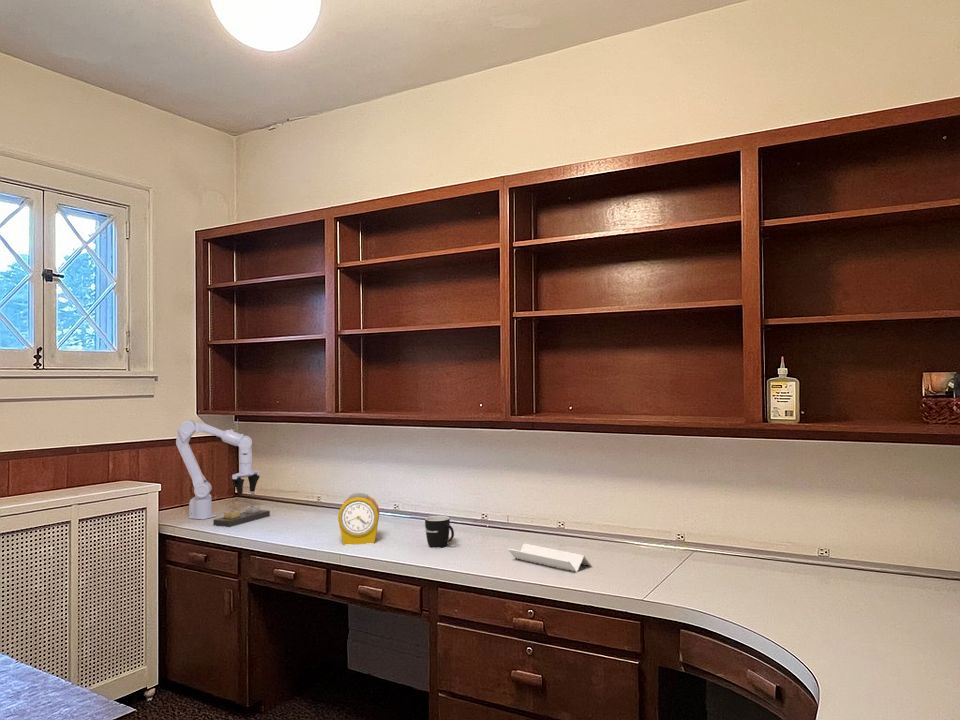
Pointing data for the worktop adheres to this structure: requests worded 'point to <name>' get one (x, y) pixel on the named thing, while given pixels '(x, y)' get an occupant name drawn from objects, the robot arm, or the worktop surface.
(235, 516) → the yellow block with knob
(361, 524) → the alarm clock
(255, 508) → the cube with round knob
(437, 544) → the mug
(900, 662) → the worktop surface
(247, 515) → the dark grey socket board
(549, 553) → the z bracket
